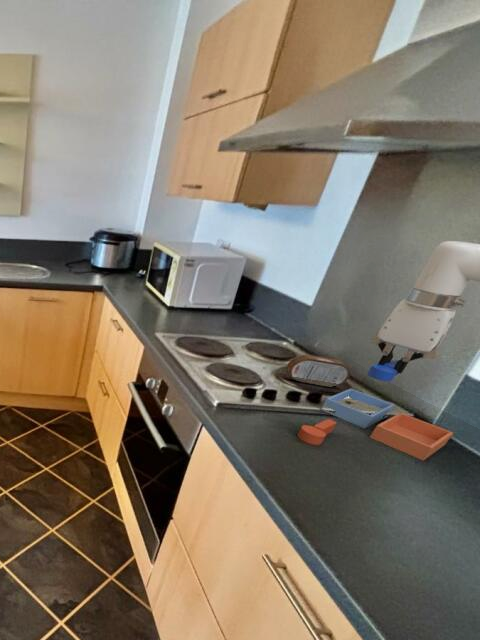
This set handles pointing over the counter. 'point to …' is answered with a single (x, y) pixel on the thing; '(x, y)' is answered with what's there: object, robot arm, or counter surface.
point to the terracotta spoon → (316, 432)
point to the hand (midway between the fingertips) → (387, 372)
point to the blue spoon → (383, 371)
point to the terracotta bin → (411, 435)
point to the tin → (318, 369)
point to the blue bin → (356, 415)
